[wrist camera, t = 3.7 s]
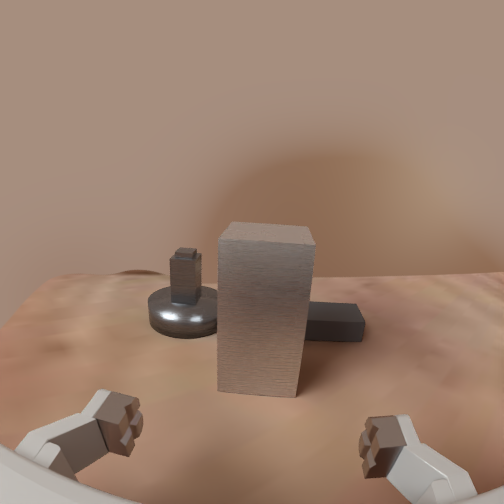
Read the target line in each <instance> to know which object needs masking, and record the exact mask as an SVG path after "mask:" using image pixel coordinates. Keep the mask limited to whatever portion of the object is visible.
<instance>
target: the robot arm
mask: <svg viewBox="0 0 504 504" xmlns="http://www.w3.org/2000/svg"><path fill="white" fill-rule="evenodd" d="M139 407H140V402H139V399H138V398H136V397H132V396H128V395H124V394H121V393H117V392H112V391H109V390H105V389H100V390H98V391H97V392H96V394H95V395H94V396H93V398H92V399H91V401H90V402H89V403H88V405H87V406H86V407H85V409H84V410H83V411H82V413H81V414H79V413H76V414H74V415H71V416H69V417H66V418H64V419H61V420H59V421H56V422H54V423H51V424H49V425H46V426H43V427H41V428H38V429H35V430H33V431H30V432H29V433H28V434H27V435H26V437H25V438H24V439H23V440H22V442H21V443H20V444H19V445H18V446H17V448H16V449H15V450H14V451H13V450H11V449H10V448H8V447H6V446H5V445H3V444H1V443H0V504H143V503H139V502H136V501H132V500H129V499H125V498H122V497H119V496H116V495H113V494H110V493H107V492H104V491H101V490H98V489H96V488H93V487H90V486H88V485H85V484H82V483H80V482H79V481H78V479H77V478H76V476H75V474H76V473H77V472H79V471H81V470H82V469H84V468H85V467H87V466H89V465H90V464H92V463H93V462H95V461H97V460H98V459H100V458H101V457H103V456H104V455H106V454H107V453H108V452H111V453H115V454H119V455H122V456H126V457H129V456H130V454H131V452H132V450H133V448H134V446H135V443H134V439H136V438H138V437H139V436H140V434H141V432H142V428H143V416H142V413H141V412H140V411H139V410H138V409H139ZM365 428H366V430H365V431H363V432H362V433H361V436H360V439H359V454H360V457H361V458H363V459H364V461H363V464H362V469H363V473H364V478H365V479H369V478H381V477H387V479H388V480H389V481H390V482H391V483H392V484H393V485H394V486H395V487H396V488H397V489H398V490H399V491H400V492H401V493H402V494H403V495H404V496H405V497H406V498H407V499H408V500H409V501H410V502H411V503H412V504H504V485H503V486H500V487H498V488H495V489H492V490H490V491H487V492H484V493H482V494H479V495H478V494H477V492H476V490H475V487H474V485H473V483H472V480H471V478H470V476H469V474H468V472H467V471H465V470H464V469H462V468H461V467H459V466H458V465H456V464H455V463H453V462H452V461H450V460H448V459H447V458H445V457H444V456H442V455H441V454H439V453H438V452H436V451H435V450H433V449H432V448H430V447H429V446H428V445H426V444H425V443H424V444H421V443H420V440H419V438H418V436H417V433H416V431H415V429H414V426H413V424H412V422H411V419H410V417H409V415H407V414H401V415H394V416H393V415H391V416H378V417H368V418H367V420H366V422H365Z"/></svg>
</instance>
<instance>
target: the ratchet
mask: <svg viewBox="0 0 504 504" xmlns="http://www.w3.org/2000/svg"><path fill="white" fill-rule="evenodd" d="M170 284H171V286H170V287H166V288H162V289H160V290H157V291H156V292H154V293H152V294H151V295H150V297H149V298H148V309H149V320H150V325H151V326H152V328H153V329H154V330H156V331H157V332H159V333H161V334H163V335H166V336H170V337H175V338H199V337H204V336H208V335H211V334H213V333H215V332H217V290H215V289H212V288H209V287H205V286H201V253H197V249H193V248H179V249H178V250H177V251H176V252H175V255H173V256H172V257H171V258H170ZM364 327H365V320H364V318H363V316H362V314H361V312H360V310H359V308H358V306H357V304H348V303H328V302H310V301H309V308H308V316H307V324H306V331H305V338H304V340H322V341H353V342H361V340H362V336H363V331H364Z"/></svg>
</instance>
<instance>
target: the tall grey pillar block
mask: <svg viewBox="0 0 504 504" xmlns="http://www.w3.org/2000/svg"><path fill="white" fill-rule="evenodd" d="M218 240H219V241H218V291H217V391H223V392H231V393H241V394H252V395H264V396H279V397H295V396H296V390H297V384H298V378H299V372H300V365H301V359H302V352H303V345H304V338H305V331H306V324H307V316H308V308H309V300H310V292H311V284H312V275H313V266H314V256H315V247H316V245H315V242H314V240H313V238H312V235H311V233H310V231H309V229H308V227H305V226H290V225H276V224H262V223H246V222H232V223H231V224H230V225H229V226H228V228H227V229H226V230H225V231H224V232H223V233H222V235H221V236H220V237H219V239H218Z"/></svg>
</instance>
